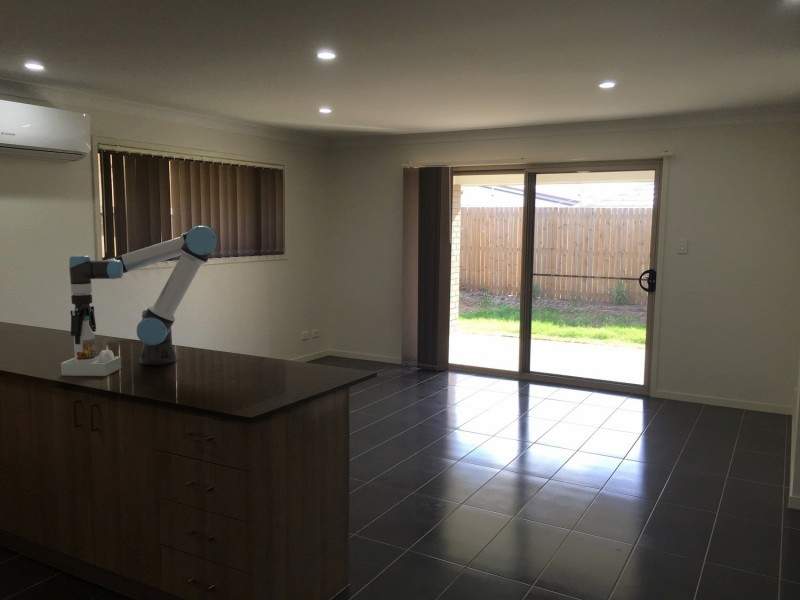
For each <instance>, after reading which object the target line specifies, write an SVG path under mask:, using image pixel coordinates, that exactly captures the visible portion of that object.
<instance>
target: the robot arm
mask: <svg viewBox="0 0 800 600" xmlns="http://www.w3.org/2000/svg"><path fill="white" fill-rule="evenodd" d="M217 234H218V233H216V231H215V229H214V228H213V227H211V226H209V225H204V224H203V225H201V224H200V225H196V226H194V227H192V228H191V229H190V230H188V231H187V232H183V233H182V234H181V235H180V236H179V237H175V238H172V239H169V240H166V241H162V242H159V243H156V244H153V245H150V246H147V247H144V248H140V249H137V250H134V251H131V252H127V253H124V254H122V255H117V256H115V257H114V256H113V257H110V258H107V259H105V260H92V259H91V258H90V255H72V256H70V257H69V266H68V267H69V276H70V277H69V278H70V293H71V294H72V295H71V296H70V298H71V304H72V305H74V310H70V312H69V313H70V336H72V337H74V336H75V349H76V352H83V339H82V336H81V331H82V324H83V320H84V319H85V316H89V325H90V327H91V329H92V331H93V333H95V332H96V331H97V323H96V317H95V306H94V305H90V304H92V303H93V294H92V292H93V290H92V280H109V279H111V280H115V279H121V278H122V277H124V276H123V275H124V274H126V273H129V272H131V271H132V272H133V271H135V270H139V269H142V268H144V267H148V266H150V265H154V264H157V263H160V262H163V261H167V260H169V259H174V258H176V257H177V258H178V257H179V258H178V261H177V263H176V264H175V267H173V270H172V272H171V274H170V275H169V278H168V279H167V281H166V283H165V285H164V286H163V288H162V289H161V291H160V294H159V296H158V297H157V299H156V301H155V303H154V304H153V305H151V306H148V308H147V309H143V311H142V314H141V318H142V319H141V320H140V321H139V322H138V324H137V326H136V335H137V337H138V338H137V339H138V340H140V342H142V343H143V347H142V350H141V353H140V357H139V360H140V361H139V363H140V364H142V365H146V366H153V365H154V366H158V365H161V366H162V365H166V364H171V363H175V362H177V360H178V355H177V352H176V350H175V347H174V344H173V333H172V326H173V325H174V322H175V321H176V319H175V315H174V314H175V313H176V311H177V309H178V307H179V305H180V304H181V302H182V300H183V298H184V296H185V294H186V293H187V291H188V289H189V287H190V286H191V284H192V282H193V280H194V278H195V276H196V275H197V273H198V271H199V269H200V267H201V265H202V264H206V263H208V260H209V259H210V257H211V255H212V253H213V251H214V249H215V248H216V246H217V244H218V235H217Z"/></svg>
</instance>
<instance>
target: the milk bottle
mask: <svg viewBox="0 0 800 600" xmlns="http://www.w3.org/2000/svg"><path fill="white" fill-rule="evenodd" d="M81 336H82V339H83V352H76V349H75V336H73V348H74V350H73V352H74V358H75V363H92V362H95V361H96V356H97V355H96V339H95V332H93V331H92V329H91V327H90V325H89V316H85V319H84V320H83V324H82V331H81Z"/></svg>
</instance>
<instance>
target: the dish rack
mask: <svg viewBox="0 0 800 600" xmlns="http://www.w3.org/2000/svg"><path fill="white" fill-rule="evenodd" d="M60 367H61V369H60V370H61V372H60V373H61V376H74V377H75V376H78V377H79V376H80V377H81V376H82V377H83V376H85V377H86V376H88V377H89V376H90V377H93V376H94V377H106V376H108V375H110V374H112V373H115V372H117V371H119V370H121V369H122V358H121V356H115V355H114V352H113V351H112V350H111V349H109V350H108V349H104V350H101V351H100V352H99V355H98V356H97V355H96V361H95V362H92V363H75V357H73V358H70V359H68V360H65V361H62V362H60Z"/></svg>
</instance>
